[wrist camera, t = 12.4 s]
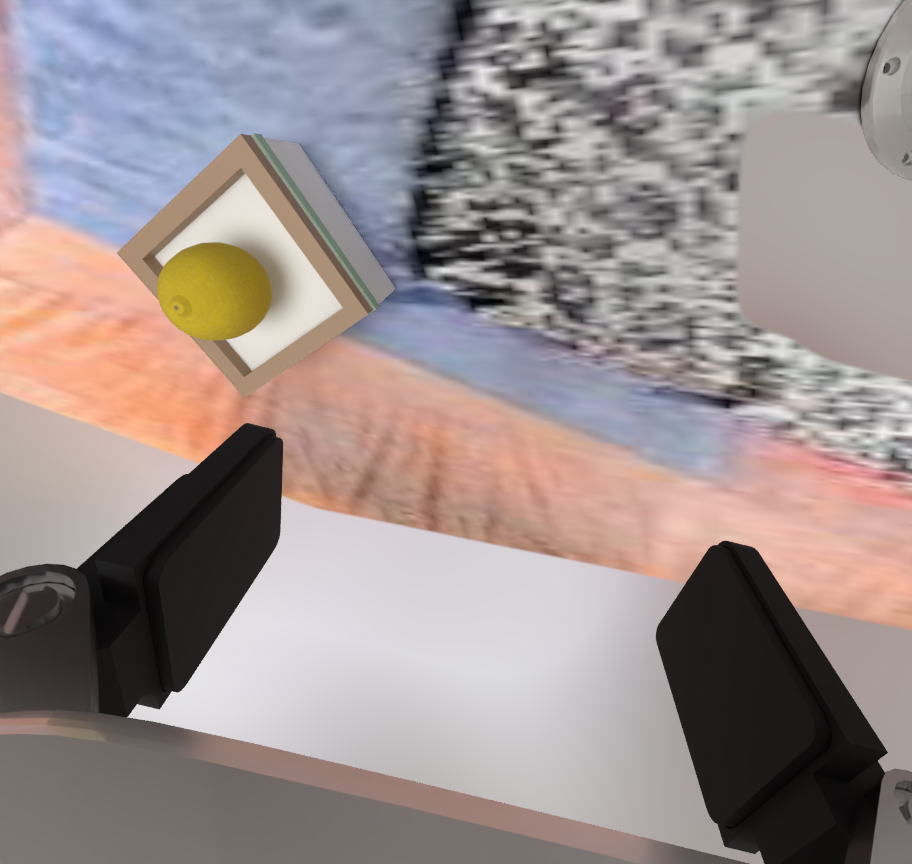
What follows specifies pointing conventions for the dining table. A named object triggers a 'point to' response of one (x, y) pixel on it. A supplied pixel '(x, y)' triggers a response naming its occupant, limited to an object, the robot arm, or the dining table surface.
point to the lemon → (214, 291)
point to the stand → (269, 253)
